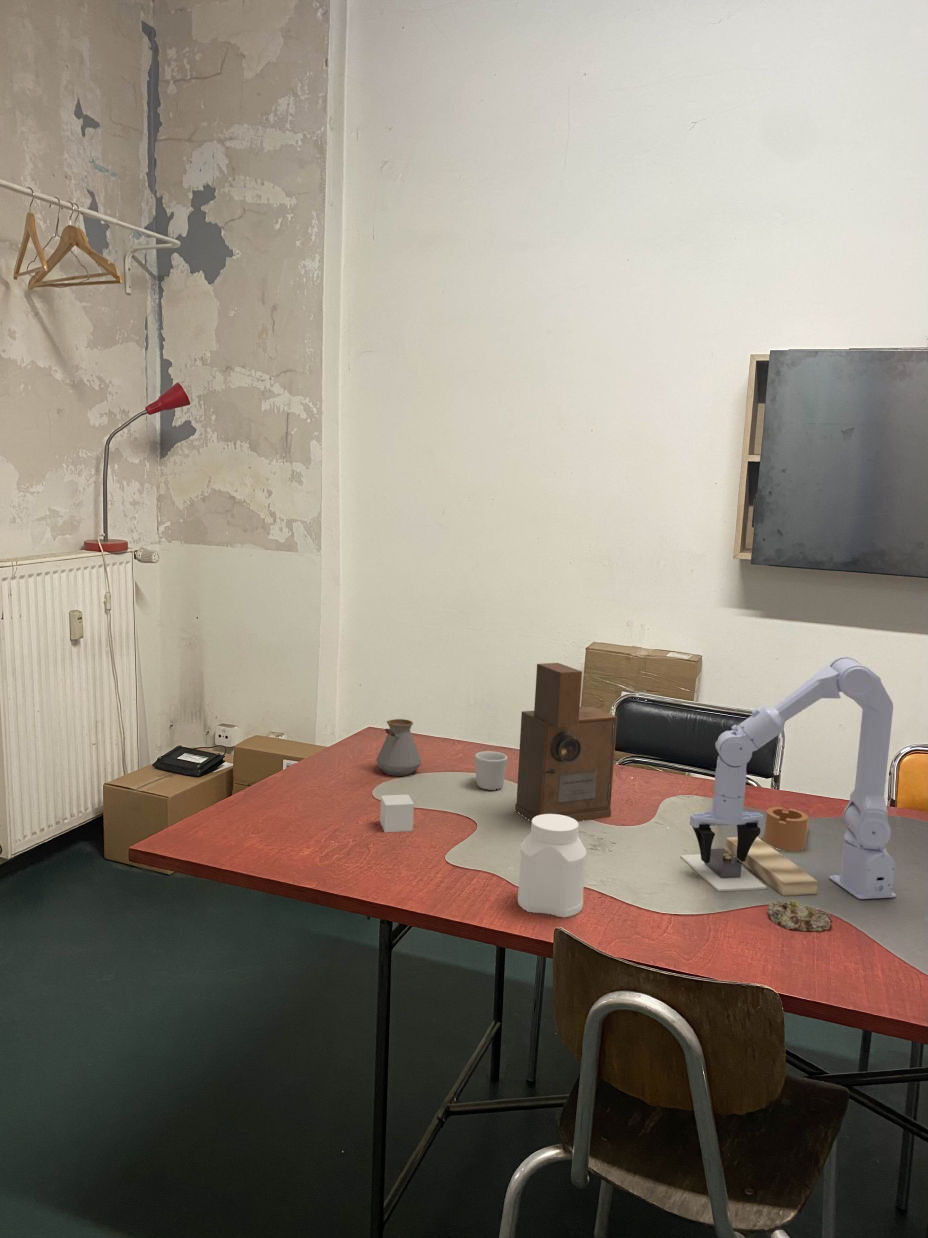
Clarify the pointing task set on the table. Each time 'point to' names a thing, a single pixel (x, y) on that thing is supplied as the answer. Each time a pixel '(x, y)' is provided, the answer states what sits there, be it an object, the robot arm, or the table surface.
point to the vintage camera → (565, 750)
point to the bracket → (786, 829)
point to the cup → (490, 769)
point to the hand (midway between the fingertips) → (723, 860)
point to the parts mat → (723, 884)
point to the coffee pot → (399, 749)
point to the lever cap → (724, 864)
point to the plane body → (775, 868)
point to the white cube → (396, 813)
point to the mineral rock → (798, 916)
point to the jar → (552, 867)
